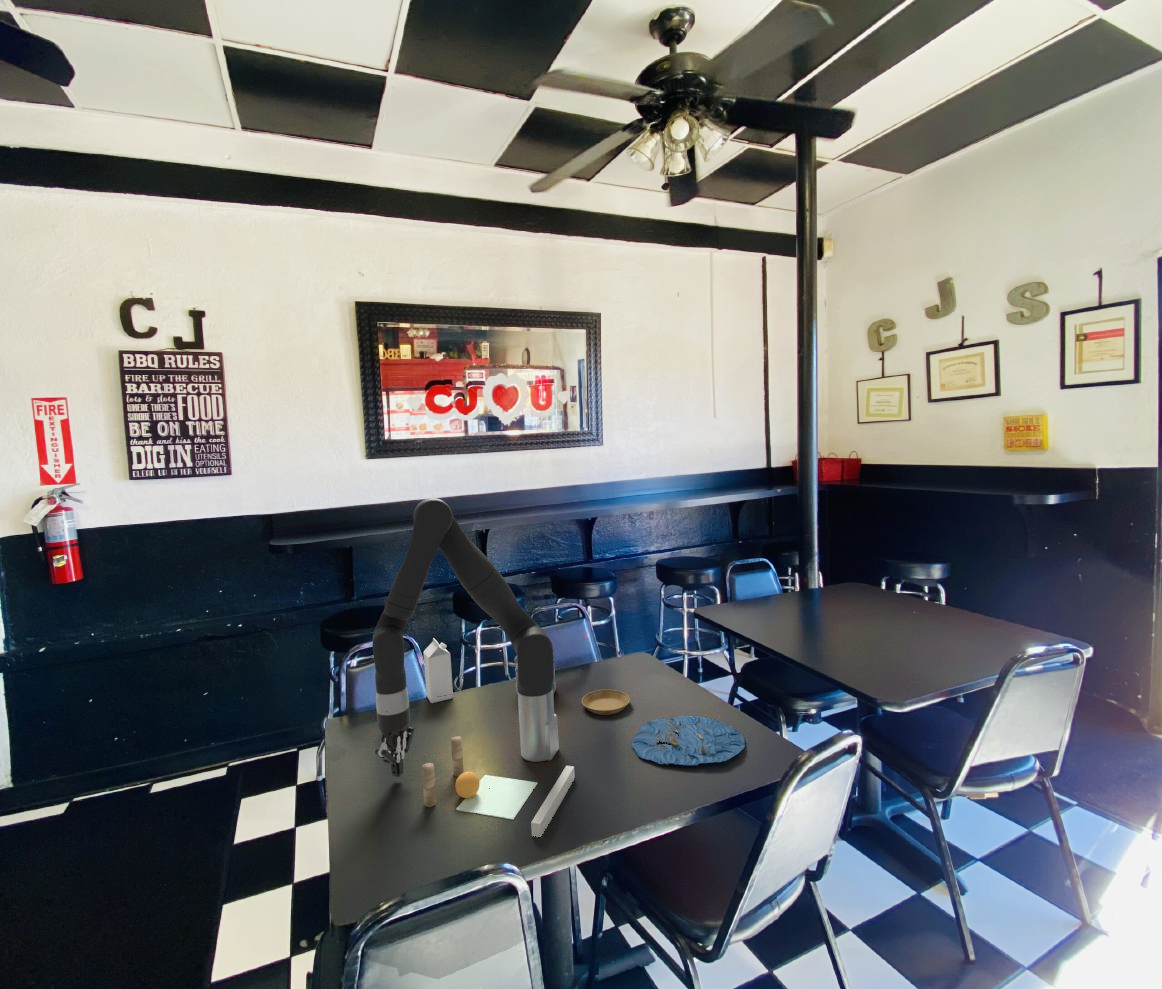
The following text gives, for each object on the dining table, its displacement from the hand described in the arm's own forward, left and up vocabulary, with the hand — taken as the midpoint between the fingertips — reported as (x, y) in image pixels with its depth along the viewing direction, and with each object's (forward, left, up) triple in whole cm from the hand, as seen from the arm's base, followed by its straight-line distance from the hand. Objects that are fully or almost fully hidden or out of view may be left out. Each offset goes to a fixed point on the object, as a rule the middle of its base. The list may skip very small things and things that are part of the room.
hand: (398, 774), depth 143 cm
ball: (-20, +2, +1) cm, 20 cm away
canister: (-14, -55, -2) cm, 57 cm away
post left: (-13, +6, -2) cm, 15 cm away
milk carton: (+16, -45, -2) cm, 48 cm away
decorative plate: (-66, -34, -2) cm, 74 cm away
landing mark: (-27, 0, -2) cm, 27 cm away
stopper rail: (-41, 0, -2) cm, 41 cm away
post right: (-13, -6, -2) cm, 15 cm away
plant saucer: (-39, -50, -2) cm, 63 cm away
